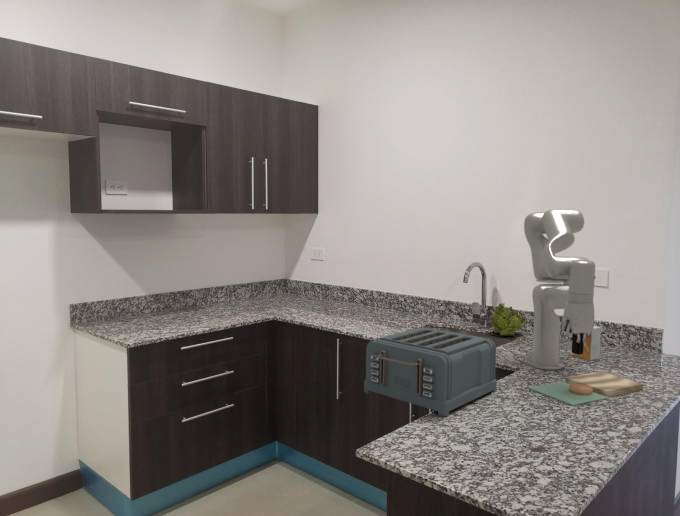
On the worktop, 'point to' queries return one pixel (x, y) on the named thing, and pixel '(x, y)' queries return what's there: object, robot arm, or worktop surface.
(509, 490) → the worktop surface
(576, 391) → the brown round disc
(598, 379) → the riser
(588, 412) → the worktop surface
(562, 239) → the robot arm
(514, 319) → the lettuce head
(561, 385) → the mat
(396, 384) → the toaster
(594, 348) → the small box
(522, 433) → the worktop surface
